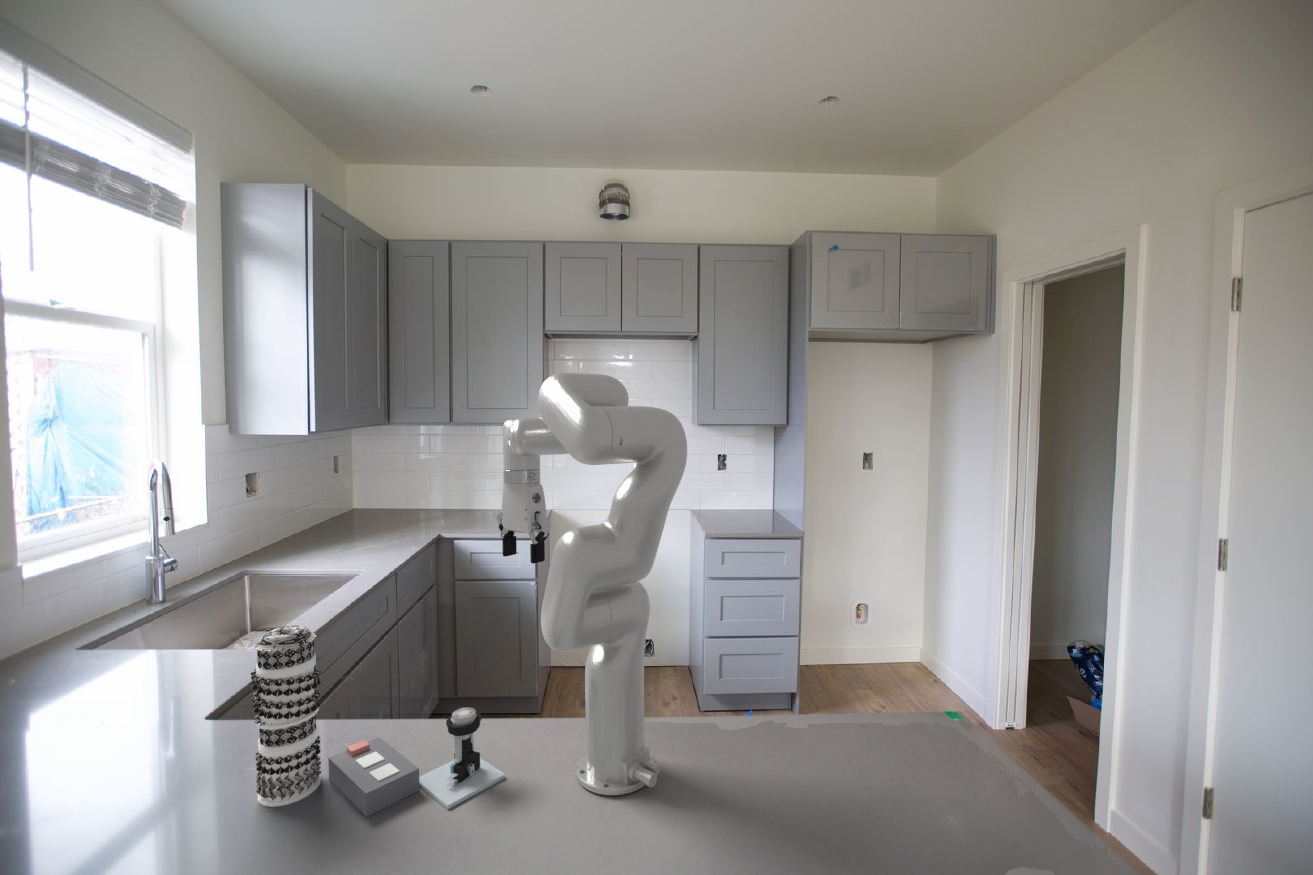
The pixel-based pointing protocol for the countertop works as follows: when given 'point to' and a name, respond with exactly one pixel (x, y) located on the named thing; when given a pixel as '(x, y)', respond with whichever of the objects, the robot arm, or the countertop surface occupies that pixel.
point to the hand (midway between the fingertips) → (523, 558)
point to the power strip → (373, 775)
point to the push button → (463, 743)
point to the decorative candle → (286, 716)
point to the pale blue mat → (458, 792)
